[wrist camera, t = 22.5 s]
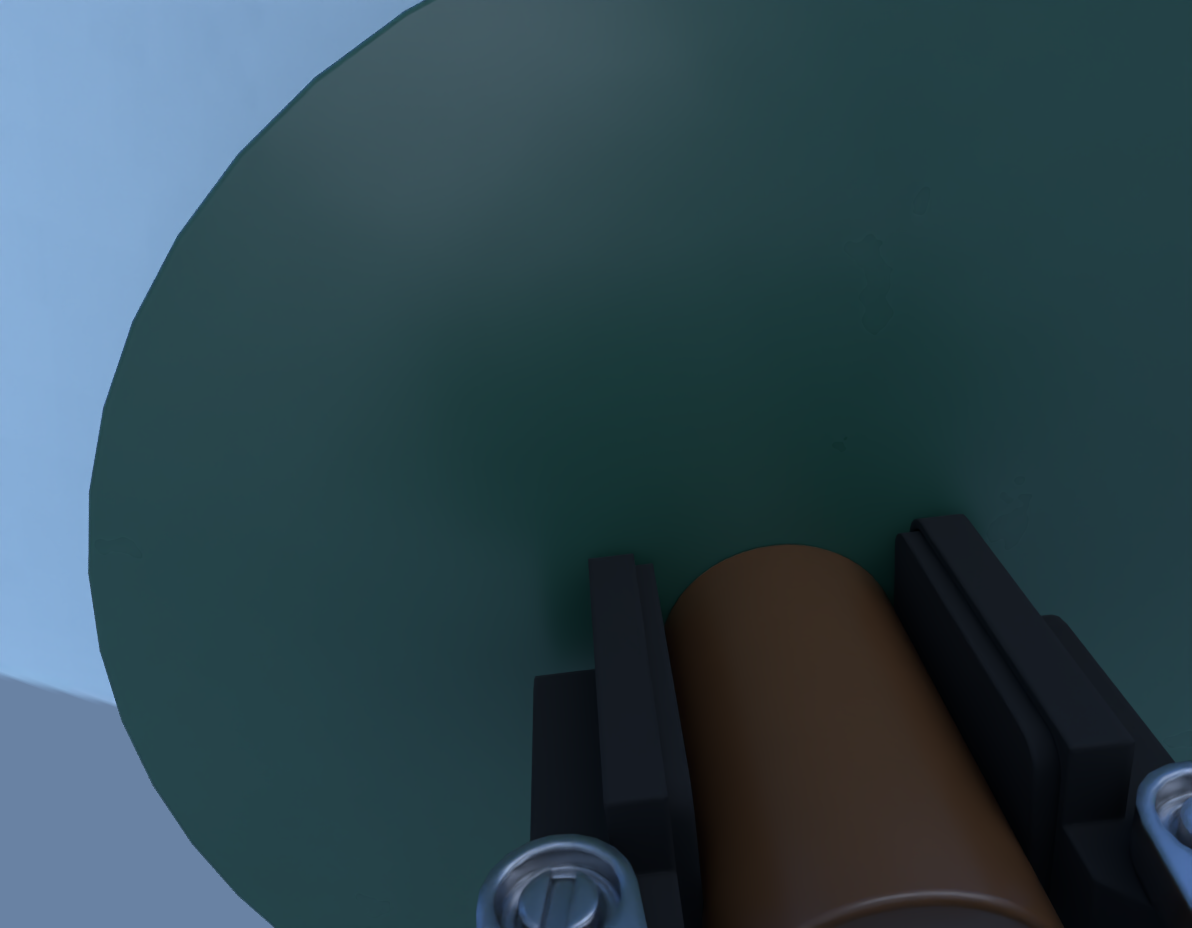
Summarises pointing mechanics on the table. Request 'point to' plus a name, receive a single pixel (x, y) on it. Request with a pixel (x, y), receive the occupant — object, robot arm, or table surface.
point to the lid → (653, 434)
